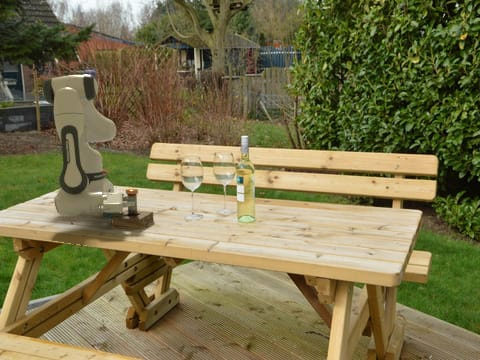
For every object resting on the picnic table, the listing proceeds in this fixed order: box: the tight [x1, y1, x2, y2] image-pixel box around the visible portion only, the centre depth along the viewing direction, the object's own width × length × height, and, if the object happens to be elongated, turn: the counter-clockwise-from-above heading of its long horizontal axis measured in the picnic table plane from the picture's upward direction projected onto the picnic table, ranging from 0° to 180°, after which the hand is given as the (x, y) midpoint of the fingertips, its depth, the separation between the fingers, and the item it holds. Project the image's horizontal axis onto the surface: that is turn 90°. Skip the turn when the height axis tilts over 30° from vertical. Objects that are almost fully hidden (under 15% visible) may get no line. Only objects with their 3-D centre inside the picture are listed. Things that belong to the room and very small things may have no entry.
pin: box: [125, 188, 139, 217], centre depth 214 cm, size 5×5×13 cm
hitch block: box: [111, 209, 154, 231], centre depth 215 cm, size 12×12×4 cm
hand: (134, 201), depth 213 cm, fingers open, 6 cm apart
